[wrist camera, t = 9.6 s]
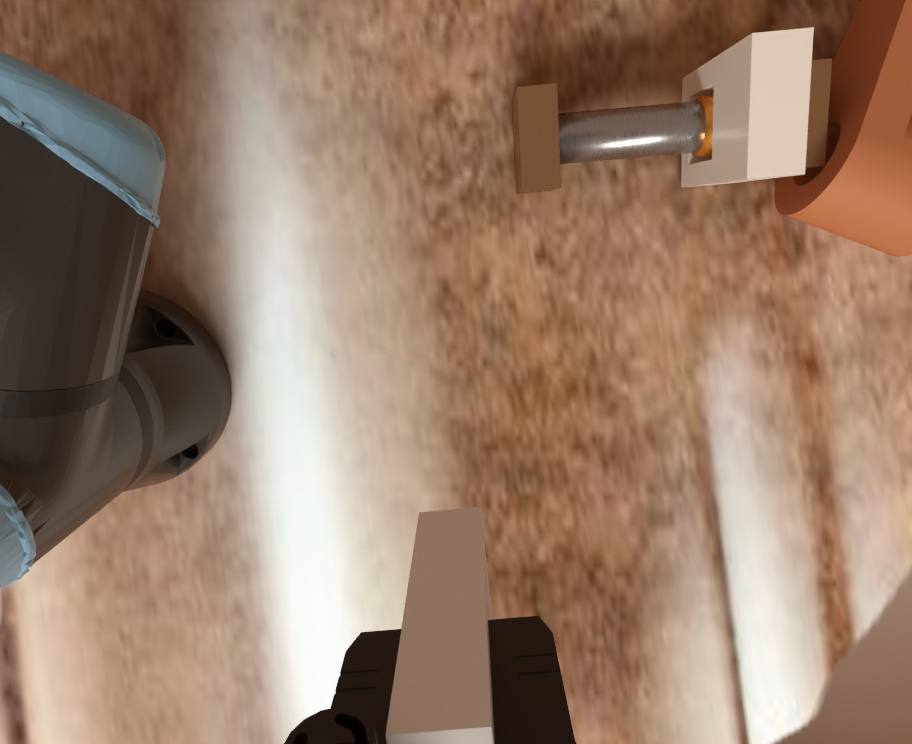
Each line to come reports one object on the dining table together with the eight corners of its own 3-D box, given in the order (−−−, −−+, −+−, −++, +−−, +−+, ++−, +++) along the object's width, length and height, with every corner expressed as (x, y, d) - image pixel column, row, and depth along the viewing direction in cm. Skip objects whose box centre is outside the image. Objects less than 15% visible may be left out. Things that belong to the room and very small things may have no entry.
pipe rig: (516, 193, 44) (522, 190, 38) (511, 102, 42) (517, 85, 37) (781, 171, 43) (827, 165, 37) (785, 78, 41) (834, 57, 36)
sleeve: (681, 187, 43) (746, 179, 32) (682, 78, 41) (752, 33, 31) (725, 183, 43) (805, 174, 32) (728, 74, 41) (813, 27, 31)
